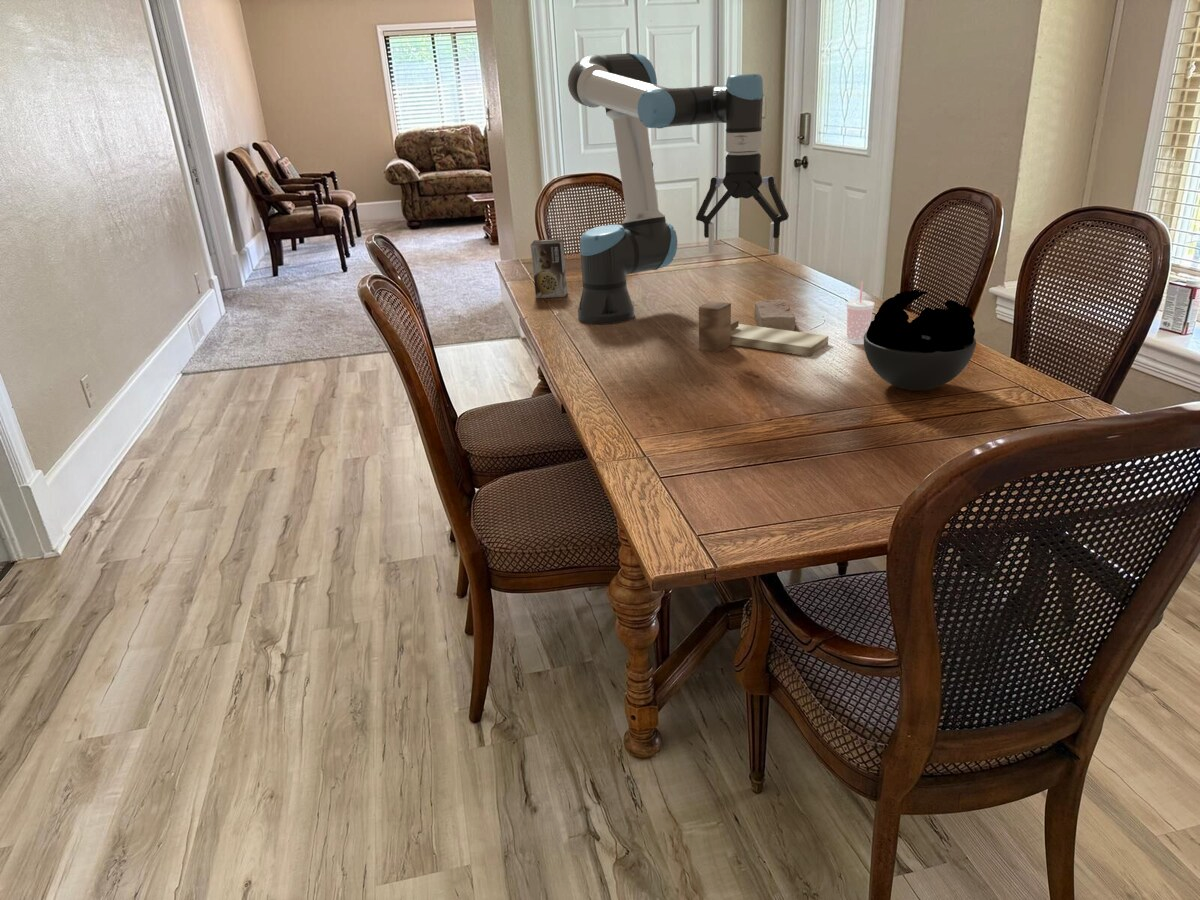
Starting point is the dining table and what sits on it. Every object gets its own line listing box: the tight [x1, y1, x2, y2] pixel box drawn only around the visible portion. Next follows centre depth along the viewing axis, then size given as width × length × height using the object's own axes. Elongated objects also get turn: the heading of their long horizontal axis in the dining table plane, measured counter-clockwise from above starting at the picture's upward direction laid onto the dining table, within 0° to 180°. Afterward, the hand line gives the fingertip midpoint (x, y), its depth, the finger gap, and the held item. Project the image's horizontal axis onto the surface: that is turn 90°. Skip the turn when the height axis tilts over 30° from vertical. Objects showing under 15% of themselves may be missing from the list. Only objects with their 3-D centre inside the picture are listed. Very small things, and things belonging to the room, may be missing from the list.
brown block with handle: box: [698, 300, 740, 353], centre depth 187 cm, size 5×13×10 cm, turn 143°
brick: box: [753, 299, 796, 331], centre depth 200 cm, size 17×8×5 cm, turn 176°
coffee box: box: [530, 238, 568, 299], centre depth 239 cm, size 9×6×16 cm
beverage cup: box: [845, 280, 875, 345], centre depth 182 cm, size 6×6×14 cm
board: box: [730, 323, 829, 357], centre depth 187 cm, size 26×10×2 cm, turn 53°
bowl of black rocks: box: [863, 289, 977, 391], centre depth 152 cm, size 20×20×19 cm
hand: (741, 252), depth 181 cm, fingers open, 13 cm apart
